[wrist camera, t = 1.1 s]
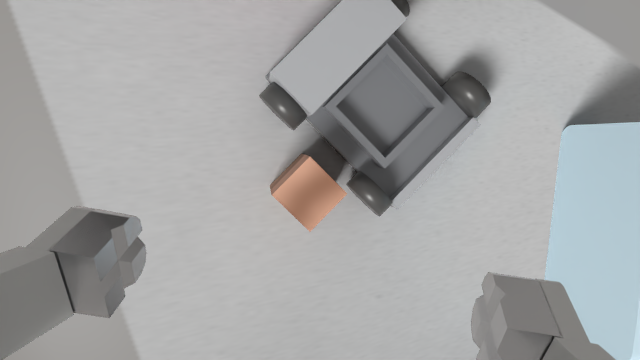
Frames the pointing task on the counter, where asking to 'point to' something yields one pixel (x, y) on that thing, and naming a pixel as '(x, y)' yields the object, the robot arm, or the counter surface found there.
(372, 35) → the chassis
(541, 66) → the counter surface
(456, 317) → the counter surface
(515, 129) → the counter surface
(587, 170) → the light blue box
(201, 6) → the counter surface
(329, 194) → the brown rectangular block
